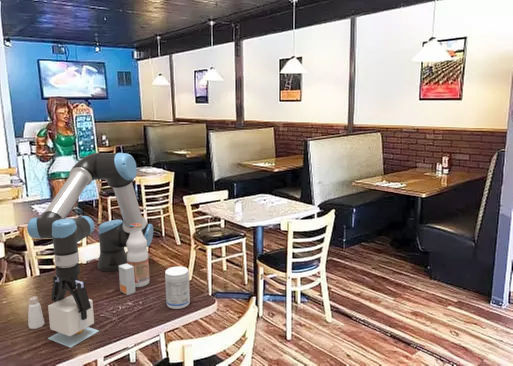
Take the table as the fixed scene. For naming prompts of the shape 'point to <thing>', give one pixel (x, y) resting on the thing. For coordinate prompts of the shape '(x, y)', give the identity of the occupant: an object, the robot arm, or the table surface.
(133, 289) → the skincare box
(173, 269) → the supplement tub
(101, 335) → the table surface
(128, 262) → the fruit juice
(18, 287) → the table surface
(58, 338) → the plain pale blue panel
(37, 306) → the pepper shaker
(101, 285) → the table surface
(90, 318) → the plain cream cube
